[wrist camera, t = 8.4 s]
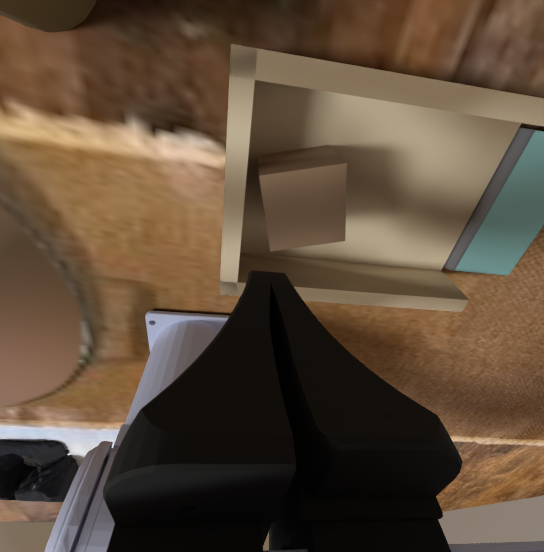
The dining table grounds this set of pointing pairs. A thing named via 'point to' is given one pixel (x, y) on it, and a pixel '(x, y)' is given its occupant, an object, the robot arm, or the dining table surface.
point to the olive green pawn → (47, 13)
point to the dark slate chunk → (35, 471)
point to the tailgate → (505, 211)
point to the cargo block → (303, 197)
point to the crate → (364, 173)
